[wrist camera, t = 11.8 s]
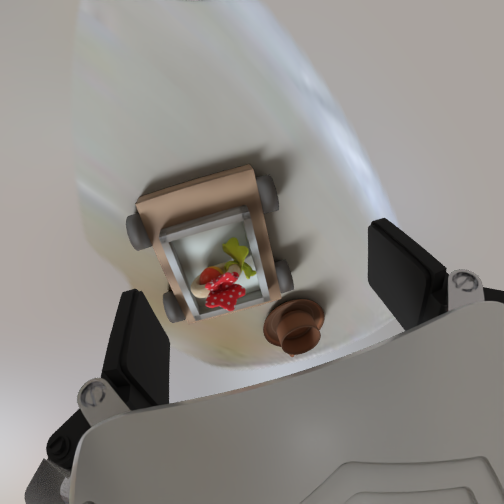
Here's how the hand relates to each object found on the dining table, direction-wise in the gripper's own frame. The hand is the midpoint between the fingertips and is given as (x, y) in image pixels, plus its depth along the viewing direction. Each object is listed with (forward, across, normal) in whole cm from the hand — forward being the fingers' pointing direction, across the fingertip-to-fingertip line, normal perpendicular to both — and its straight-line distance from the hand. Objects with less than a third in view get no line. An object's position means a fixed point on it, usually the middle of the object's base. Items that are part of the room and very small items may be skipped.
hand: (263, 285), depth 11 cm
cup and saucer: (+31, -6, +34) cm, 46 cm away
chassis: (+30, +4, +14) cm, 34 cm away
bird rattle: (+27, +3, +15) cm, 31 cm away
